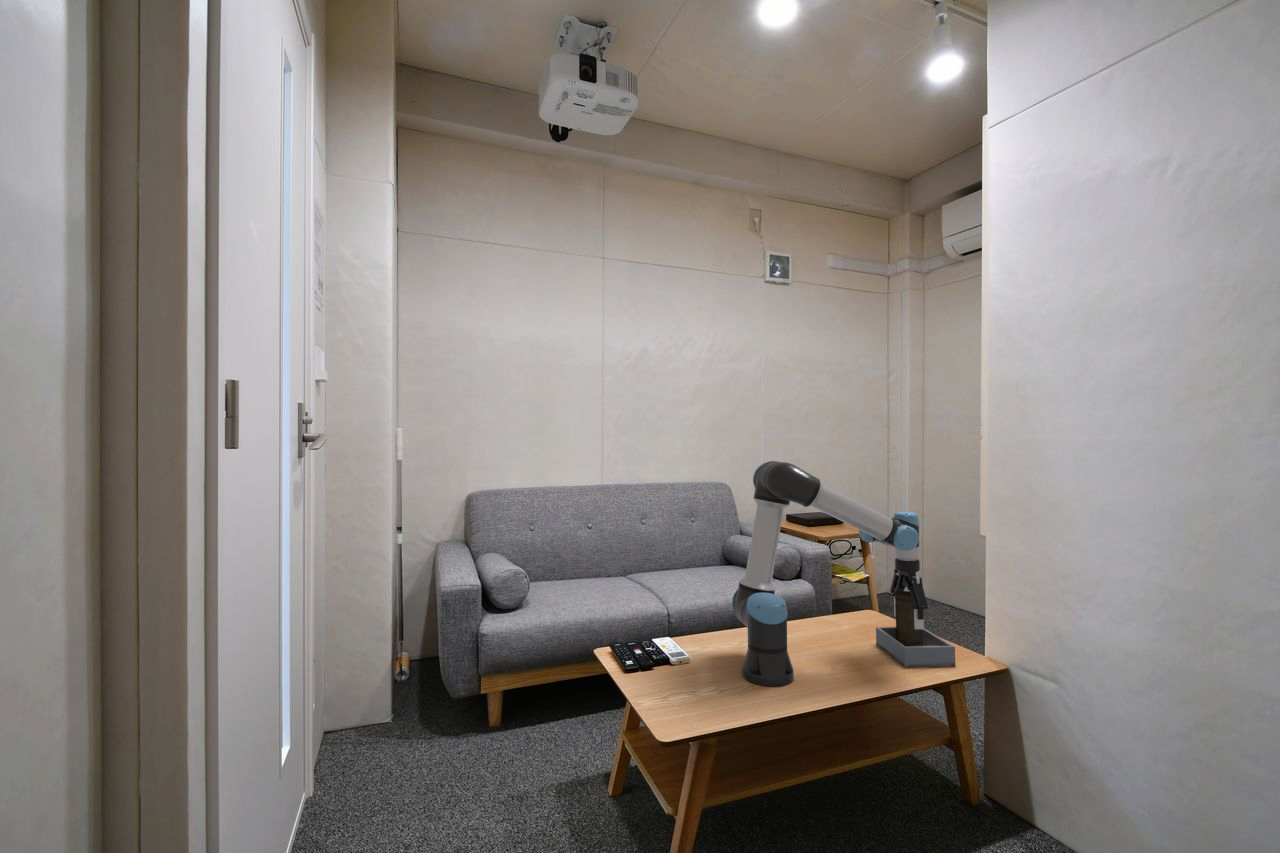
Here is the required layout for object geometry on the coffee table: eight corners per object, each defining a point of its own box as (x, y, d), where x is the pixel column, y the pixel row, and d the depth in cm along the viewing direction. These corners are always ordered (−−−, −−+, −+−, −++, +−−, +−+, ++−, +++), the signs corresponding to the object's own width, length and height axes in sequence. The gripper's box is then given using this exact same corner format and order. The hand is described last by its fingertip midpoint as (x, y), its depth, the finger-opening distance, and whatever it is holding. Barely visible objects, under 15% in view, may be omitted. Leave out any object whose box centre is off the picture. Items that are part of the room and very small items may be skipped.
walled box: (904, 667, 178) (904, 648, 178) (876, 644, 198) (875, 627, 198) (955, 666, 179) (955, 646, 179) (921, 643, 199) (921, 626, 199)
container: (920, 654, 185) (919, 598, 186) (891, 648, 191) (890, 594, 192) (926, 647, 193) (925, 592, 193) (898, 641, 198) (897, 589, 199)
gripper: (938, 566, 180) (940, 634, 180) (900, 551, 205) (901, 611, 204) (915, 566, 180) (916, 635, 179) (879, 551, 205) (880, 611, 204)
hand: (908, 622), depth 192 cm, fingers open, 13 cm apart
